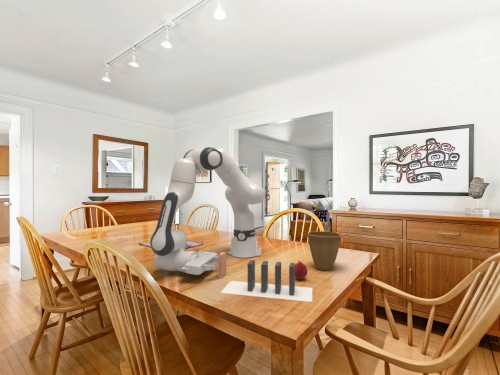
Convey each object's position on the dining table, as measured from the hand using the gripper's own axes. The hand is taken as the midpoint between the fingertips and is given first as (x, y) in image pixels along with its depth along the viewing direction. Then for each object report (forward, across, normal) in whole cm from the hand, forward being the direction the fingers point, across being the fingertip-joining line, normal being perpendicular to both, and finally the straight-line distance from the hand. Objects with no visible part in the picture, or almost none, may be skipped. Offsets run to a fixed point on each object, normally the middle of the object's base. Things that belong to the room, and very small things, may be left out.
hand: (220, 263), depth 112 cm
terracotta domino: (+1, 0, +6) cm, 6 cm away
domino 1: (+16, -10, +5) cm, 20 cm away
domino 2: (+21, -10, +5) cm, 24 cm away
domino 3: (+26, -10, +5) cm, 28 cm away
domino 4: (+31, -10, +5) cm, 33 cm away
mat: (+22, -10, +5) cm, 25 cm away
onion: (+33, +4, +6) cm, 34 cm away
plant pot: (+43, +22, +6) cm, 49 cm away
